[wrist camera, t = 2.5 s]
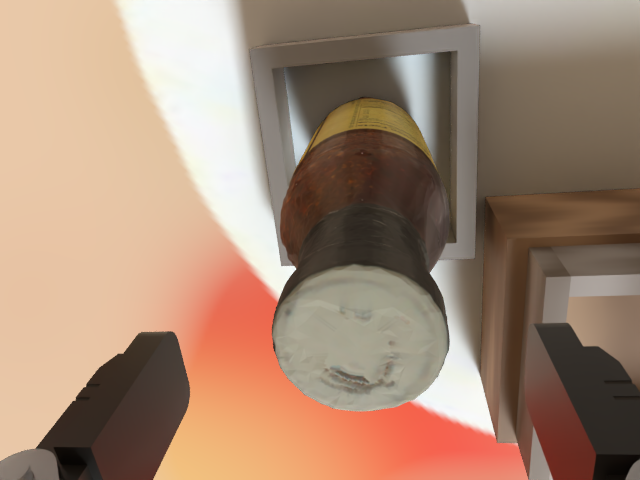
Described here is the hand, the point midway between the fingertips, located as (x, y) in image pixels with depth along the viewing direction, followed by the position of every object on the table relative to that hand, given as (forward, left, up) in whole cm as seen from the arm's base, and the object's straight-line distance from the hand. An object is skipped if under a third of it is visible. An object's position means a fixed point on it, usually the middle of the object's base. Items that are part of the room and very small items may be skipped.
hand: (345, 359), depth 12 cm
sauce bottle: (0, 0, -20) cm, 20 cm away
